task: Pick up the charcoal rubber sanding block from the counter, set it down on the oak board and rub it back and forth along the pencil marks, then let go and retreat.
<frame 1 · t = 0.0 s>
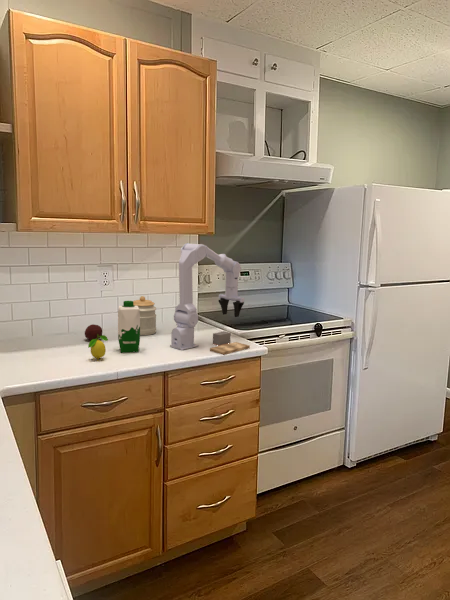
hand: (230, 315, 220), 10 cm above the countertop, fingers open, 7 cm apart
jar: (142, 333, 224), on the countertop
board: (230, 349, 198), on the countertop
lemon: (98, 359, 179), on the countertop
milk carton: (129, 350, 192), on the countertop
sanding block: (221, 344, 207), on the countertop
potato: (93, 340, 207), on the countertop
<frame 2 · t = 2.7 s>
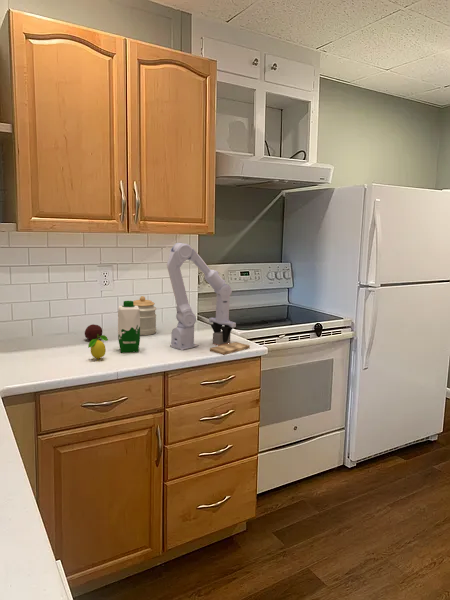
hand: (221, 340, 207), 1 cm above the countertop, fingers closed on sanding block, 4 cm apart
sanding block: (221, 343, 207), on the countertop, touching gripper
everything else where it was.
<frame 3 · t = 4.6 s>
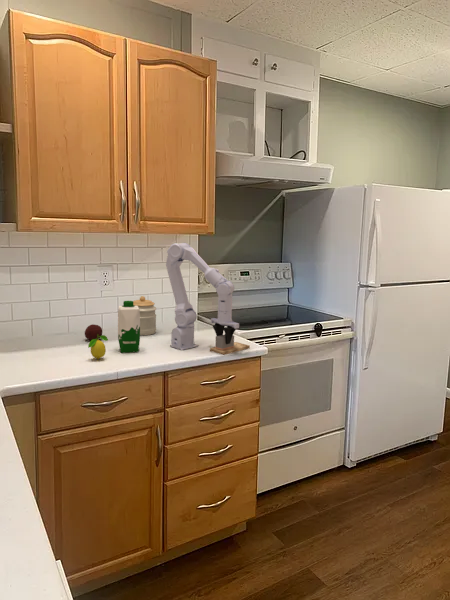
hand: (224, 342, 195), 4 cm above the countertop, fingers closed on sanding block, 4 cm apart
sanding block: (224, 347, 196), point 1 cm above the countertop, touching gripper
everything else where it was.
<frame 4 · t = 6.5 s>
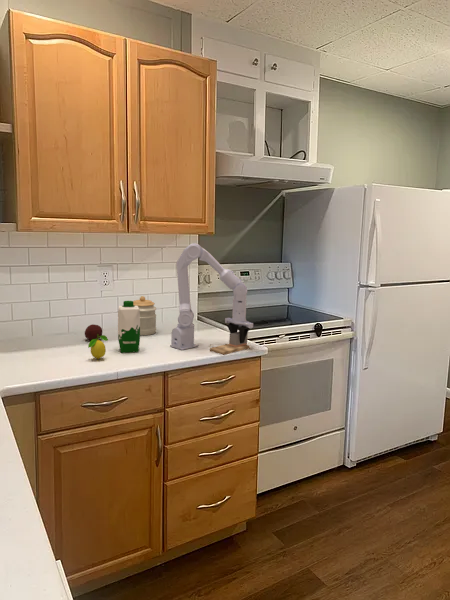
hand: (238, 341, 202), 3 cm above the countertop, fingers closed on sanding block, 4 cm apart
sanding block: (238, 344, 202), point 1 cm above the countertop, touching gripper
everything else where it was.
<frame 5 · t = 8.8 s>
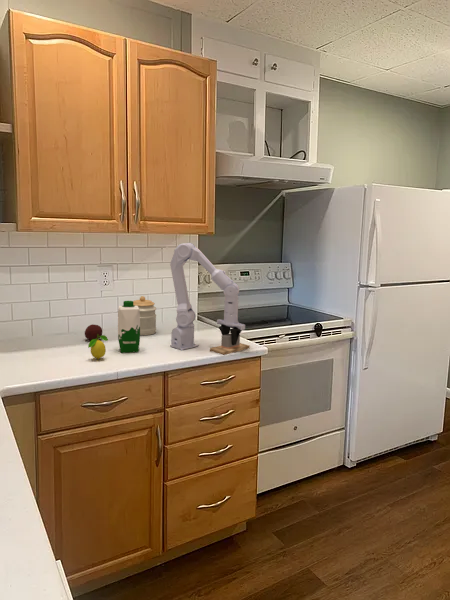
hand: (230, 343, 198), 3 cm above the countertop, fingers closed on sanding block, 4 cm apart
sanding block: (230, 346, 198), point 1 cm above the countertop, touching gripper
everything else where it was.
when the fingers open (3 cm above the countertop, at t = 10.6 s): sanding block stays where it is, resting on board.
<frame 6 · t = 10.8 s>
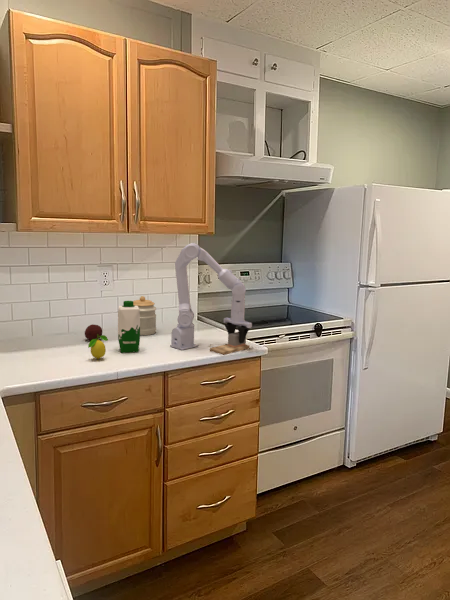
hand: (236, 341, 201), 3 cm above the countertop, fingers open, 5 cm apart
sanding block: (236, 345, 201), point 1 cm above the countertop, touching board
everything else where it was.
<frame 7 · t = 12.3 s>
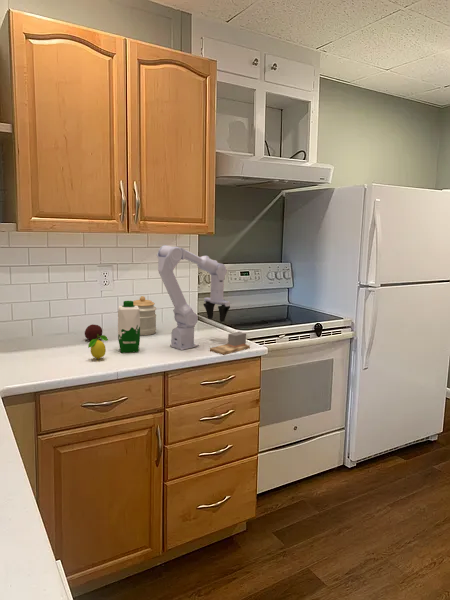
hand: (216, 320, 209), 10 cm above the countertop, fingers open, 7 cm apart
nothing on the countertop moved.
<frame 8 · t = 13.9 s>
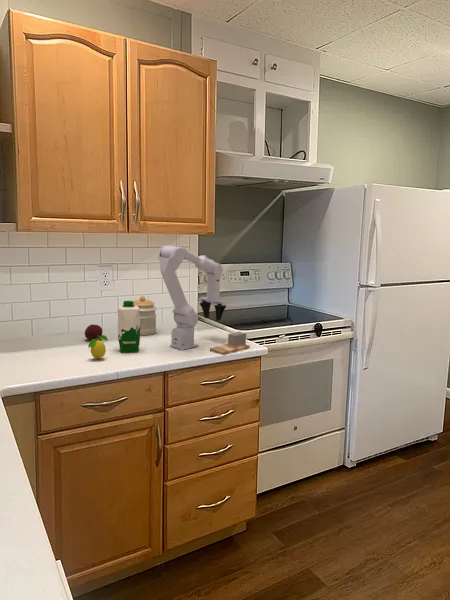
hand: (212, 319, 211), 10 cm above the countertop, fingers open, 7 cm apart
nothing on the countertop moved.
at the end: sanding block inside the target area on the board (4.2 cm from its centre), point 1.2 cm above the board's base; sanding block tilted 0°; the gripper is holding nothing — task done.
